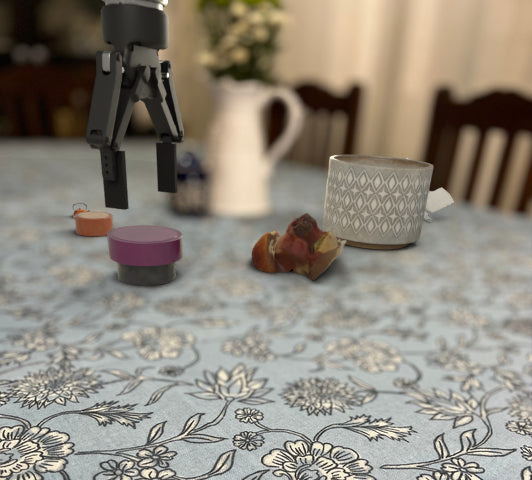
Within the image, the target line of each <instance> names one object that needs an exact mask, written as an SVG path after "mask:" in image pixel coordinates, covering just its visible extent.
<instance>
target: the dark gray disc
mask: <svg viewBox="0 0 532 480" xmlns="http://www.w3.org/2000/svg"><path fill="white" fill-rule="evenodd" d="M176 265H177V264H176V262H174V263H171V264H166V265H159V266H132V265H126V264H121V263H118V262H116V270H117V279H118V280H119V281H121V282H122V283H125V284H128V285H133V286H142V287H152V286H153V287H154V286H160V285H161V286H162V285H165V284H169V283H171V282H173V281H174V280H175V279H176V277H177V266H176Z"/></svg>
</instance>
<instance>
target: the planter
mask: <svg viewBox="0 0 532 480" xmlns="http://www.w3.org/2000/svg"><path fill="white" fill-rule="evenodd" d="M410 159H411V158H409V159H407V158H401V157H392V156H384V155H369V154H368V155H367V154H335V155H331V156H329V162H328V171H327V180H326V189H325V198H324V209H323V217H322V231H323V232H326V231H330V232H332V233H333V234H334V235H335V236H336V238H337V240H339V239H340V241H344V240H346V243H345V245H347V246H351V247H356V248H362V249H370V250H398V249H403V248H405V247H407V246H408V245H409V244H412V243H415V242H417V241H419V240H420V238H421V233H422V229H423V223H424V219H423V218H424V213H425V211H426V210H425V208H426V203H427V198H428V193H429V191H430V188H431V183H432V178H433V171H434V164H431V163H429V162H425V161H421V160H416V159H411V160H410Z"/></svg>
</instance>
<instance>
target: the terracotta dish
mask: <svg viewBox="0 0 532 480" xmlns="http://www.w3.org/2000/svg"><path fill="white" fill-rule="evenodd" d="M74 217H75V218H74ZM74 217H73V218H74V225H75V233H76V234H77V235H79V236H82V237H83V236H84V237H105V236H107V233H108V232H109V231H110V230H113V229H114V221H113V214H111V213H110V212H105V211H89V212H87V211H86V212H81V213H77V214H75V215H74Z"/></svg>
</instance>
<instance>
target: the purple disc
mask: <svg viewBox="0 0 532 480" xmlns="http://www.w3.org/2000/svg"><path fill="white" fill-rule="evenodd" d="M106 239H107V252H108V253H107V254H108V258H109V259H110V260H111V261H113V262H115V263H117V262H118V263H121V264H126V265H132V266H159V265H166V264H171V263H174V262H178V261H181V259H182V258H183V256H184V252H183V251H184V249H183V247H184V246H183V243H184V241H183V233H182V232H181V231H180V230H178V229H175V228H172V227H167V226H162V225H149V224H148V225H146V224H145V225H144V224H141V225H127V226H121V227H120V226H119V227H116V228H113V230H110V231H109V232H108V233H107V235H106Z"/></svg>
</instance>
